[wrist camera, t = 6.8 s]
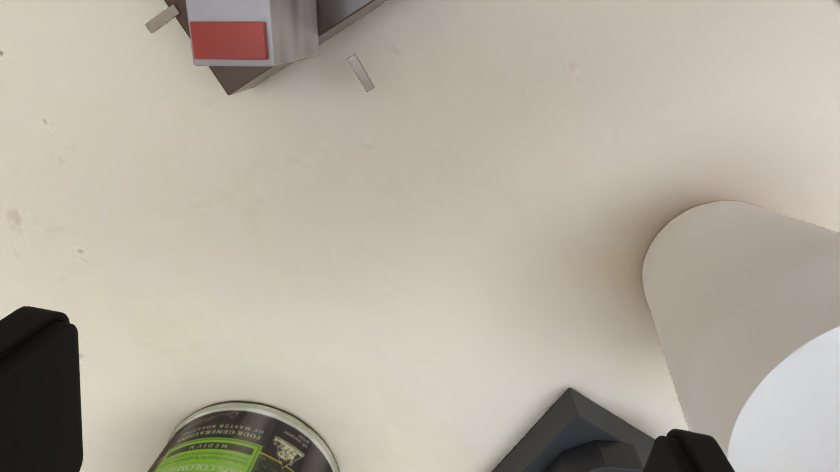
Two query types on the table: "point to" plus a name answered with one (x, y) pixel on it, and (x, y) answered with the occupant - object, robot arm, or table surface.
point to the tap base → (335, 11)
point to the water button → (579, 441)
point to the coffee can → (244, 442)
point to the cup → (752, 332)
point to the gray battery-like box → (252, 31)
